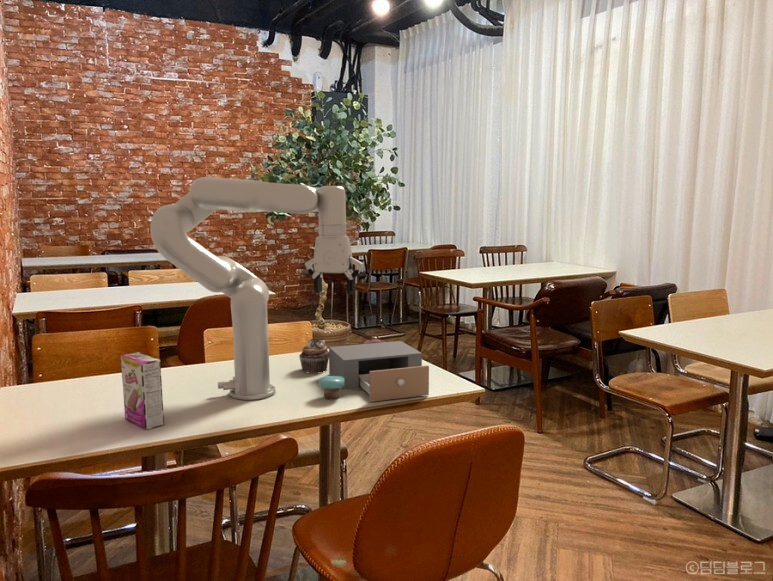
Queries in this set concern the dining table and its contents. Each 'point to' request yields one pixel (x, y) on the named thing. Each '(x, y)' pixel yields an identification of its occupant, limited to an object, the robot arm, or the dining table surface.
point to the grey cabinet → (370, 360)
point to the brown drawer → (396, 383)
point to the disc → (331, 382)
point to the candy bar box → (142, 390)
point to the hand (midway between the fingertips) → (334, 292)
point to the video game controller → (373, 341)
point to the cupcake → (314, 356)
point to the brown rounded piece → (332, 394)
